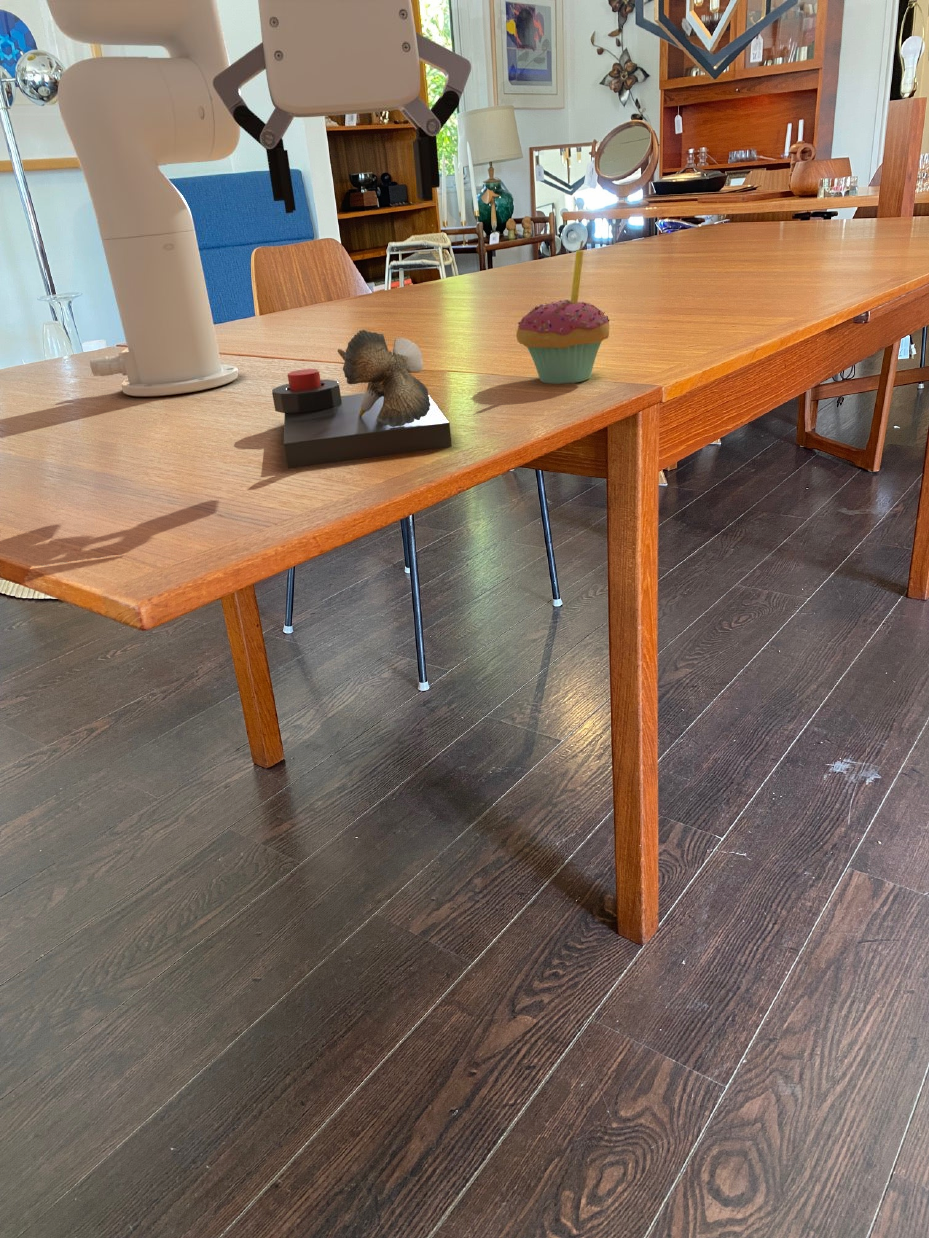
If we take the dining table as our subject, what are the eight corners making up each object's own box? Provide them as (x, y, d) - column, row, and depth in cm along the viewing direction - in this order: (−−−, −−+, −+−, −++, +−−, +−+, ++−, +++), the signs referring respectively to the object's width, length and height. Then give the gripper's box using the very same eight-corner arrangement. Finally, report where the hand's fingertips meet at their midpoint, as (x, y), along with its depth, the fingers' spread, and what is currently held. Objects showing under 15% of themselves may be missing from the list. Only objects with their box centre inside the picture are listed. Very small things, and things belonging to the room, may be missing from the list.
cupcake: (608, 367, 89) (605, 235, 84) (612, 385, 81) (610, 241, 76) (521, 374, 90) (513, 244, 85) (517, 392, 82) (508, 250, 77)
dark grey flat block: (277, 471, 65) (268, 422, 63) (279, 425, 79) (272, 384, 77) (452, 448, 66) (447, 400, 65) (424, 407, 80) (420, 366, 79)
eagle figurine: (317, 397, 73) (322, 396, 64) (353, 313, 72) (363, 301, 63) (403, 438, 75) (419, 442, 66) (439, 357, 74) (460, 351, 65)
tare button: (290, 396, 74) (287, 376, 73) (290, 390, 76) (287, 371, 75) (322, 392, 74) (319, 372, 73) (321, 386, 76) (318, 367, 76)
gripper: (450, -83, 61) (468, 196, 69) (190, -70, 59) (238, 215, 67) (470, -115, 55) (487, 197, 62) (177, -102, 53) (232, 219, 60)
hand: (358, 206), depth 64 cm, fingers open, 9 cm apart
